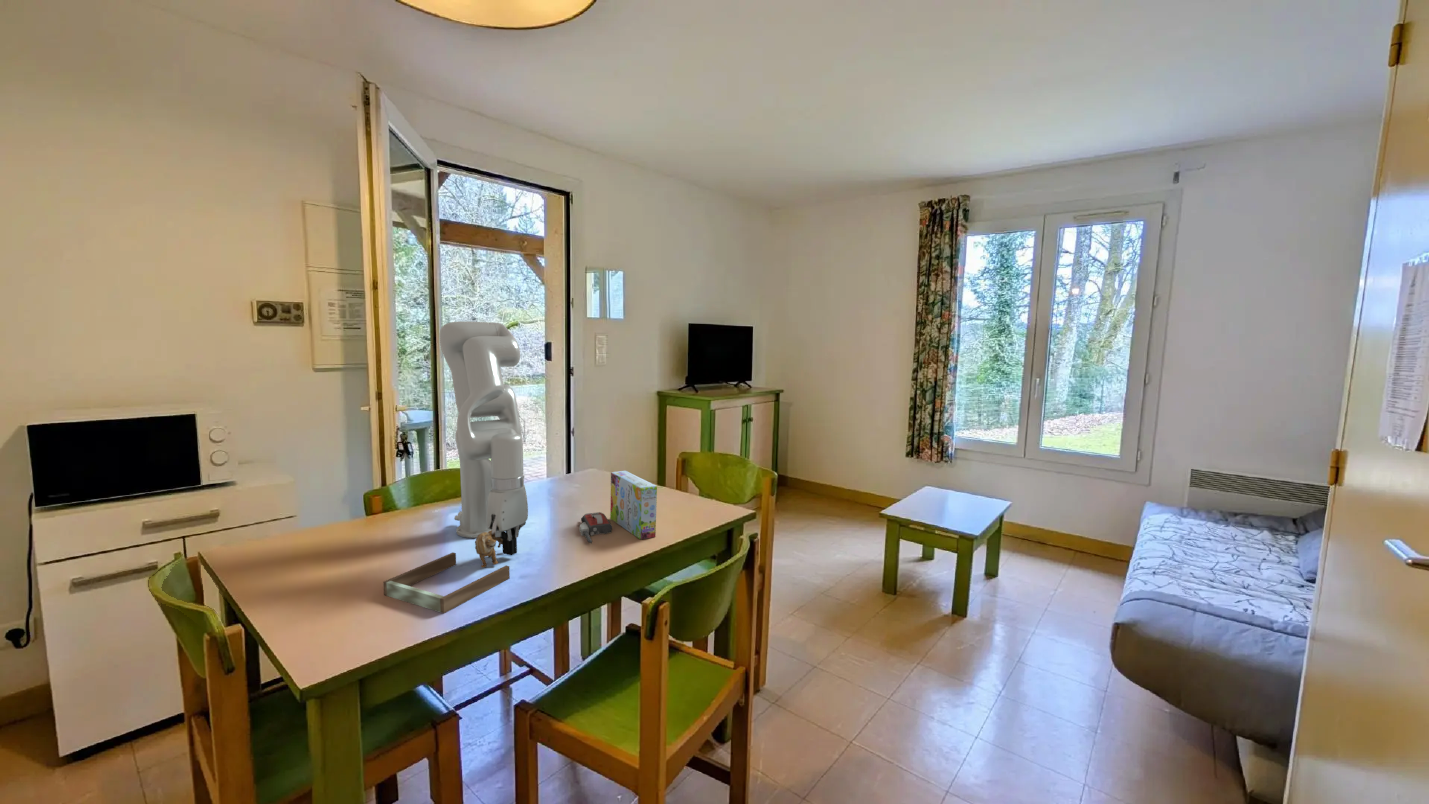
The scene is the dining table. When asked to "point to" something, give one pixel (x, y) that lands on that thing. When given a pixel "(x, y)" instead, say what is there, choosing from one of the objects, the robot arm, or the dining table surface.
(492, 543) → the lion figurine
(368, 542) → the dining table surface
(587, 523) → the walkie-talkie
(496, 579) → the u-shaped wooden rail
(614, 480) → the snack box
